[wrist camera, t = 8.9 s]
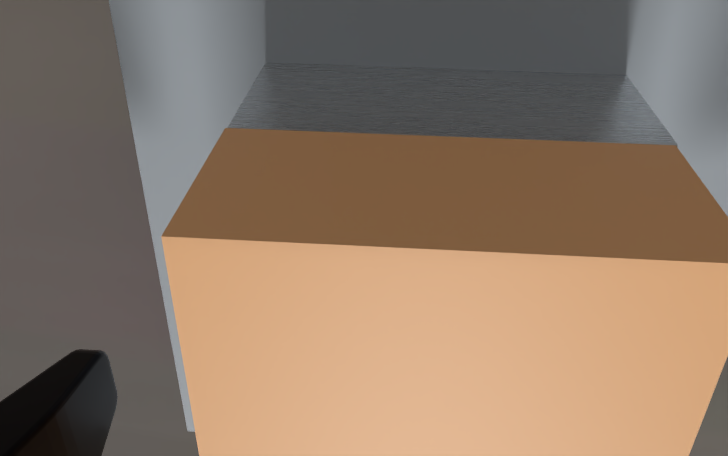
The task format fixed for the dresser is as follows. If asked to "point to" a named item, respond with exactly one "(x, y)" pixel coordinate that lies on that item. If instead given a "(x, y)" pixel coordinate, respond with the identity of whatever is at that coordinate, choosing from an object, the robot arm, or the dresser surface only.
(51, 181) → the dresser surface
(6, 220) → the dresser surface
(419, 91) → the housing base
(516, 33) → the slate stand
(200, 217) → the cover
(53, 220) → the dresser surface
